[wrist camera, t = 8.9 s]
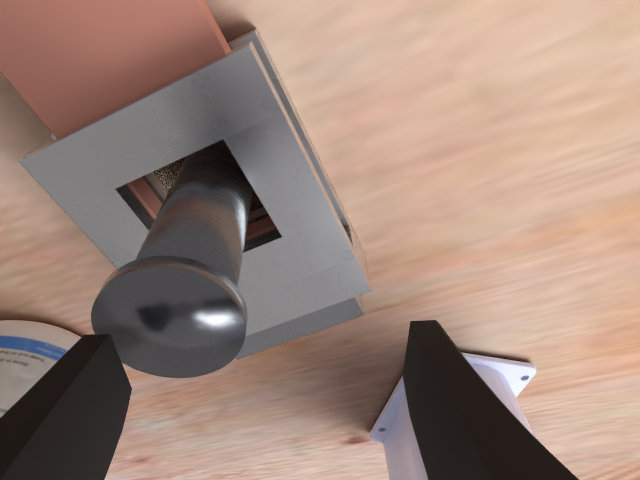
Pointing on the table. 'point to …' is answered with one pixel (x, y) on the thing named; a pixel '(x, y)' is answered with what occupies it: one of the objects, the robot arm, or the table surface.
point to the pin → (184, 275)
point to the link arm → (104, 60)
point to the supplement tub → (28, 356)
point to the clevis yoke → (256, 163)
